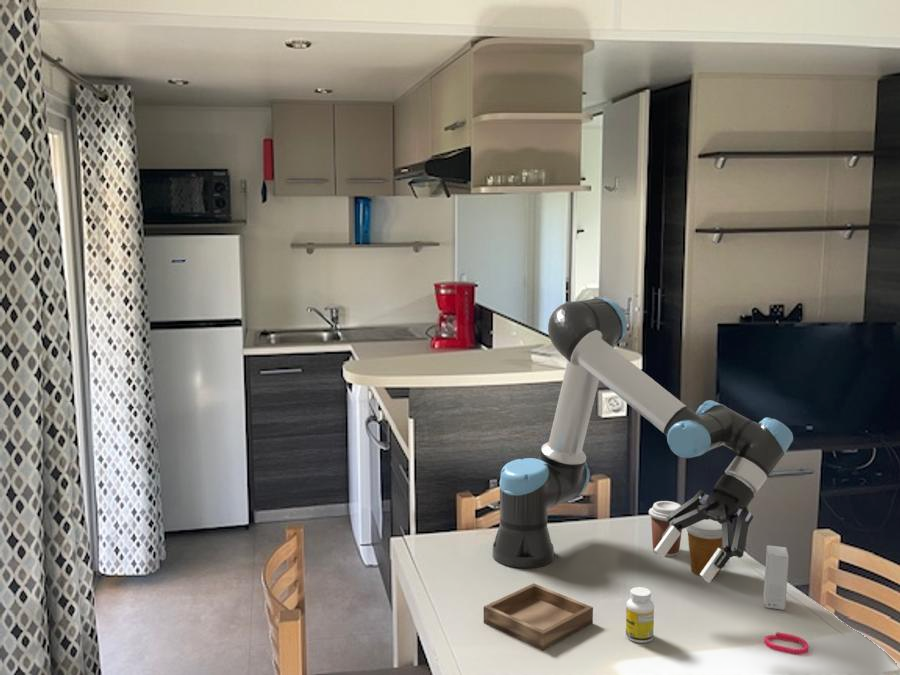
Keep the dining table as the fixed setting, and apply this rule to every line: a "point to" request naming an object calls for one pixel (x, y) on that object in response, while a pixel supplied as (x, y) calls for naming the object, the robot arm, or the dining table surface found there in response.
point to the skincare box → (776, 577)
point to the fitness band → (787, 638)
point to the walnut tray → (538, 616)
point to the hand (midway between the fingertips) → (680, 566)
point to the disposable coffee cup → (703, 543)
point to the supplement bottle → (640, 616)
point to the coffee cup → (663, 524)
